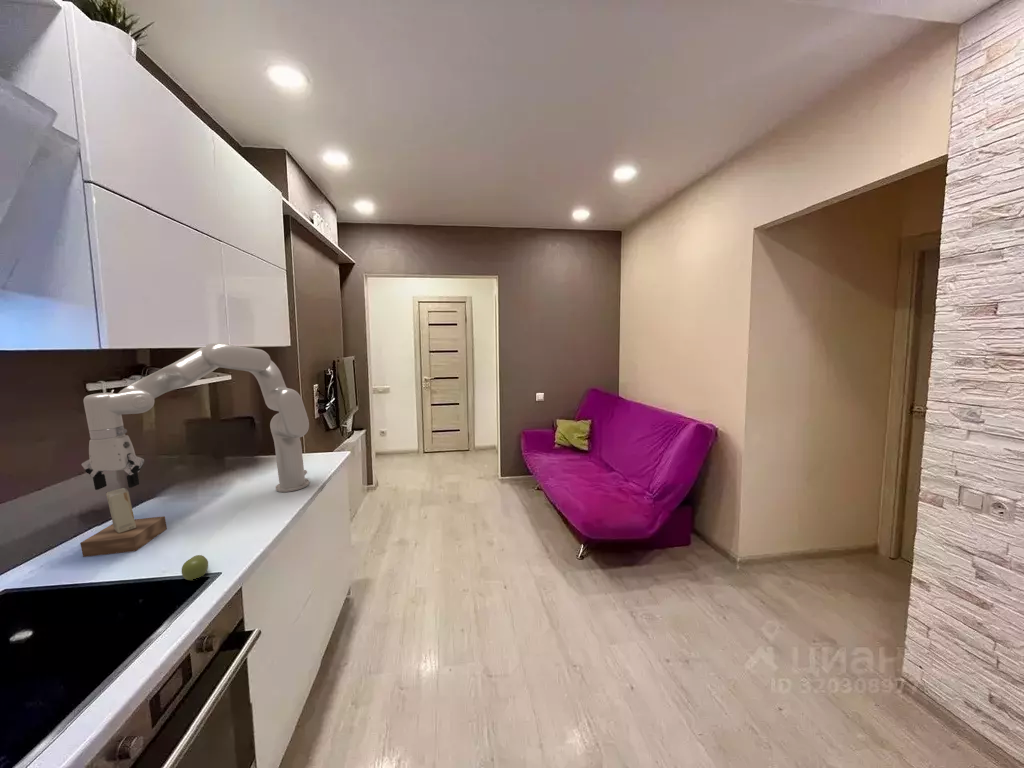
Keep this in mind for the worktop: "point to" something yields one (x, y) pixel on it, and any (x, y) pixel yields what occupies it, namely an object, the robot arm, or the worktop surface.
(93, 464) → the robot arm
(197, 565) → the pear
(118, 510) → the skincare box
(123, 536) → the walnut block
